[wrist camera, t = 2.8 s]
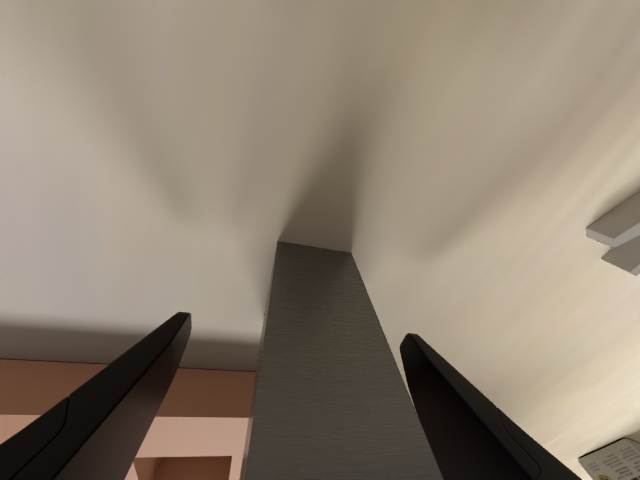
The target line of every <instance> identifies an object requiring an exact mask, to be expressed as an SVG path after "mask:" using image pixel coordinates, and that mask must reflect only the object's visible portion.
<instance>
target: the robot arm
mask: <svg viewBox="0 0 640 480" xmlns="http://www.w3.org/2000/svg"><path fill="white" fill-rule="evenodd" d="M190 333H191V314H190V313H187V312H178V313H176V314H175V315H174V316H172V317H171V318H170V319H168V320H167V321H166V322H164V323H163V324H162V325H160V326H159V327H158V328H156V329H155V330H154V331H152V332H151V333H150V334H149V335H147V336H146V337H145V338H143V339H142V340H141V341H139V342H138V343H137V344H135V345H134V346H133V347H131V348H130V349H129V350H127V351H126V352H125V353H123V354H122V355H121V356H119V357H118V358H117V359H115V360H114V361H113V362H111V363H110V364H109V365H107V366H106V367H105V368H104V369H102V370H101V371H100V372H98V373H97V374H96V375H94V376H93V377H92V378H90V379H89V380H88V381H86V382H85V383H84V384H82V385H81V386H80V387H78V388H77V389H76V390H74V391H73V392H72V393H70V395H69V397H68V396H67V397H65V398H64V399H62V400H61V401H60V402H58V403H57V404H56V405H54V406H53V407H52V408H50V409H49V410H48V411H46V412H45V413H44V414H42V415H41V416H40V417H38V418H37V419H35V420H34V421H33V422H31V423H30V424H29V425H27V426H26V427H24V428H23V429H22V430H20V431H19V432H17V433H16V434H14V435H13V436H12V437H10V438H9V439H7V440H6V441H4V442H3V443H1V444H0V480H125V478H126V476H127V473H128V471H129V469H130V467H131V465H132V463H133V461H134V459H135V457H136V455H137V453H138V451H139V449H140V447H141V445H142V443H143V441H144V439H145V437H146V435H147V432H148V430H149V428H150V426H151V424H152V422H153V420H154V418H155V416H156V414H157V412H158V410H159V408H160V406H161V404H162V402H163V400H164V398H165V396H166V394H167V392H168V389H169V387H170V385H171V383H172V381H173V379H174V377H175V374H176V372H177V369H178V366H179V364H180V361H181V358H182V355H183V353H184V350H185V347H186V344H187V342H188V339H189V336H190ZM400 353H401V358H402V362H403V366H404V371H405V375H406V380H407V384H408V387H409V391H410V394H411V397H412V400H413V403H414V406H415V409H416V412H417V415H418V418H419V421H420V423H421V426H422V428H423V430H424V433H425V435H426V438H427V440H428V443H429V445H430V448H431V450H432V453H433V455H434V458H435V460H436V462H437V465H438V467H439V470H440V472H441V475H442V477H443V480H582V479H581V478H580V477H578V476H577V475H576V474H575V473H573V472H572V471H571V470H570V469H569V468H567V467H566V466H565V465H564V464H563V463H561V462H560V461H559V460H558V459H557V458H555V457H554V456H553V455H552V454H551V453H549V452H548V451H547V450H546V449H545V448H543V447H542V446H541V445H540V444H539V443H537V442H536V441H535V440H534V439H533V438H531V437H530V436H529V435H528V434H527V433H526V432H524V431H523V430H522V429H521V428H520V427H519V426H518V425H516V424H515V423H514V422H513V421H512V420H511V419H510V418H509V417H507V416H506V415H505V414H504V413H503V412H502V411H501V410H500V409H499V408H497V407H496V406H495V405H494V404H493V403H492V402H491V401H490V400H489V399H488V398H487V397H485V396H484V395H483V394H482V393H481V392H480V391H479V390H478V389H477V388H476V387H474V386H473V385H472V384H471V383H470V382H469V381H468V380H467V379H466V378H465V377H463V376H462V375H461V374H460V373H459V372H458V371H457V370H456V369H455V368H454V367H453V366H451V365H450V364H449V363H448V362H447V361H446V360H445V359H444V358H443V357H442V356H440V355H439V354H438V353H437V352H436V351H435V350H434V349H433V348H432V347H431V346H429V345H428V344H427V343H426V342H425V341H424V340H423V339H422V338H421V337H420V336H418V335H417V334H412V333H408V334H407V335H406V336H405V338H404V339H403V341H402V343H401V345H400Z"/></svg>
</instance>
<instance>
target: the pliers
mask: <svg viewBox="0 0 640 480" xmlns="http://www.w3.org/2000/svg"><path fill="white" fill-rule="evenodd" d="M586 235H587V237H589V238H591V239H594V240H596V241H599V242H601V243H604V244H606V245H608V246H611V247H613V248H612V249H611V250H610V251H609V252H608V253H607V254H605V255H604V256H603V257H602V258H601V259H602V260H604V261H606V262H608V263H610V264H612V265H614V266H617V267H619V268H621V269H623V270H625V271H627V272H629V273H631V274H634V275H636V276H637V275H638V274H640V192H639V193H637V194H636V195H634V196H633V197H631V198H630V199H628V200H627V201H625V202H624V203H622V204H621V205H619V206H618V207H616V208H615V209H613V210H612V211H610V212H609V213H607V214H606V215H605V216H603V217H602V218H600V219H599V220H597V221H596V222H594V223H593V224H591V225H590V226H588V227H587V228H586Z"/></svg>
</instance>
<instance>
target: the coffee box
mask: <svg viewBox="0 0 640 480" xmlns="http://www.w3.org/2000/svg"><path fill="white" fill-rule="evenodd" d="M578 461H579V463H580V464H581V465H582V467H583V468H584V469H585V470H586V472H587V473H588V474H589V475H590V477H591V478H592V479H593V480H640V443H637V442H634V441H632V440H629V439H622V440H620V441H618V442H616V443H614V444H611V445H609V446H607V447H605V448H602V449H600V450H598V451H596V452H593V453H591V454H589V455H587V456H584V457H582V458H579V460H578Z"/></svg>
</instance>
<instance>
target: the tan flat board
mask: <svg viewBox="0 0 640 480" xmlns="http://www.w3.org/2000/svg"><path fill="white" fill-rule="evenodd" d="M106 366H107V365H105V364H85V363H65V362H46V361H26V360H6V359H0V444H1V443H3V442H4V441H6V440H7V439H9V438H10V437H12V436H13V435H14V434H16V433H17V432H19V431H20V430H22V429H23V428H24V427H26V426H27V425H29V424H30V423H31V422H33V421H34V420H35V419H37V418H38V417H40V416H41V415H42V414H44V413H45V412H46V411H48V410H49V409H50V408H52V407H53V406H54V405H56V404H57V403H58V402H60V401H61V400H62V399H64V398H65V397H67V396H68V397H69V395H70V393H72V392H73V391H74V390H76V389H77V388H78V387H80V386H81V385H82V384H84V383H85V382H86V381H88V380H89V379H90V378H92V377H93V376H94V375H96V374H97V373H98V372H100V371H101V370H102V369H104V368H105V367H106ZM255 374H256V372H243V371H224V370H204V369H184V368H178V369H177V372H176V374H175V377H174V379H173V381H172V383H171V385H170V387H169V389H168V392H167V394H166V396H165V398H164V400H163V402H162V404H161V406H160V408H159V410H158V412H157V414H156V416H155V418H154V420H153V422H152V424H151V426H150V428H149V430H148V432H147V435H146V437H145V439H144V441H143V443H142V445H141V447H140V449H139V451H138V453H137V455H136V457H135V459H134V461H133V463H132V465H131V467H130V469H129V471H128V473H127V476H126V478H125V480H239V479H240V472H241V466H242V459H243V453H244V446H245V440H246V433H247V426H248V420H249V413H250V407H251V400H252V394H253V387H254V381H255Z"/></svg>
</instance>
